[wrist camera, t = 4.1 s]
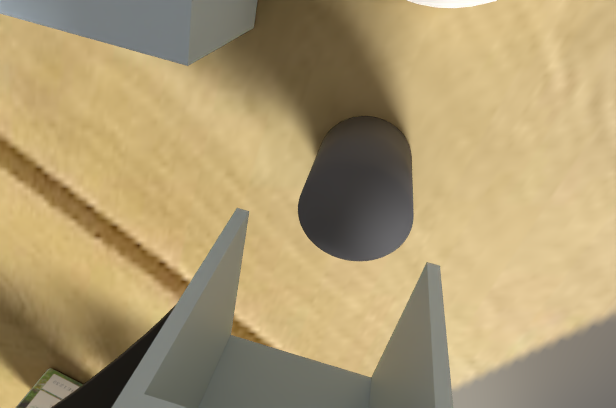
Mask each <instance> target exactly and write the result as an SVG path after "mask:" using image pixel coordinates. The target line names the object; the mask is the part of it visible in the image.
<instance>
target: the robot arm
mask: <svg viewBox="0 0 616 408" xmlns="http://www.w3.org/2000/svg"><path fill="white" fill-rule="evenodd" d="M175 306H176V305H175ZM175 306H174V307H173V308H172V309H171V310H170V311H169V312H168V313H167V314H166V315H165V316H164V317H163V318H162V319H161V320H160V321H159V322H158V323H157V324H156V325H155V326H153V327H152V328H151V329H150V330H149V331H148V332H147V333H146V334H145V335H144V336H142V337H141V338H140V339H139V340H138V341H137V342H135V343H134V344H133V345H132V346H131V347H130V348H128V349H127V350H126V351H125V352H124V353H123V354H121V355H120V356H119V357H118V358H117V359H115V360H114V361H113V362H112V363H110V364H109V365H108V366H106V367H105V368H104V369H103V370H101V371H100V372H99V373H97V374H96V375H95V376H94V377H92V378H91V379H90V380H89V381H87V382H86V383H85V384H83V385H82V386H81V387H79V388H78V389H76V390H75V391H74V392H72V393H71V394H69V395H68V396H67V397H65V398H64V399H62V400H61V401H60V402H58V403H57V404H55V405H54V406H52V407H51V408H112V406H113V405H114V403H115V402H116V400H117V398H118V397H119V395H120V394H121V392H122V390H123V389H124V387H125V386H126V384H127V382H128V381H129V379H130V378H131V376H132V374H133V373H134V371H135V370H136V368H137V366H138V365H139V363H140V362H141V360H142V359H143V357H144V355H145V354H146V352H147V351H148V349H149V347H150V346H151V344H152V343H153V341H154V339H155V338H156V336H157V335H158V333H159V331H160V330H161V328H162V327H163V325H164V323H165V322H166V320H167V319H168V317H169V315H170V314H171V312H172V311H173V309H174V308H175Z"/></svg>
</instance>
